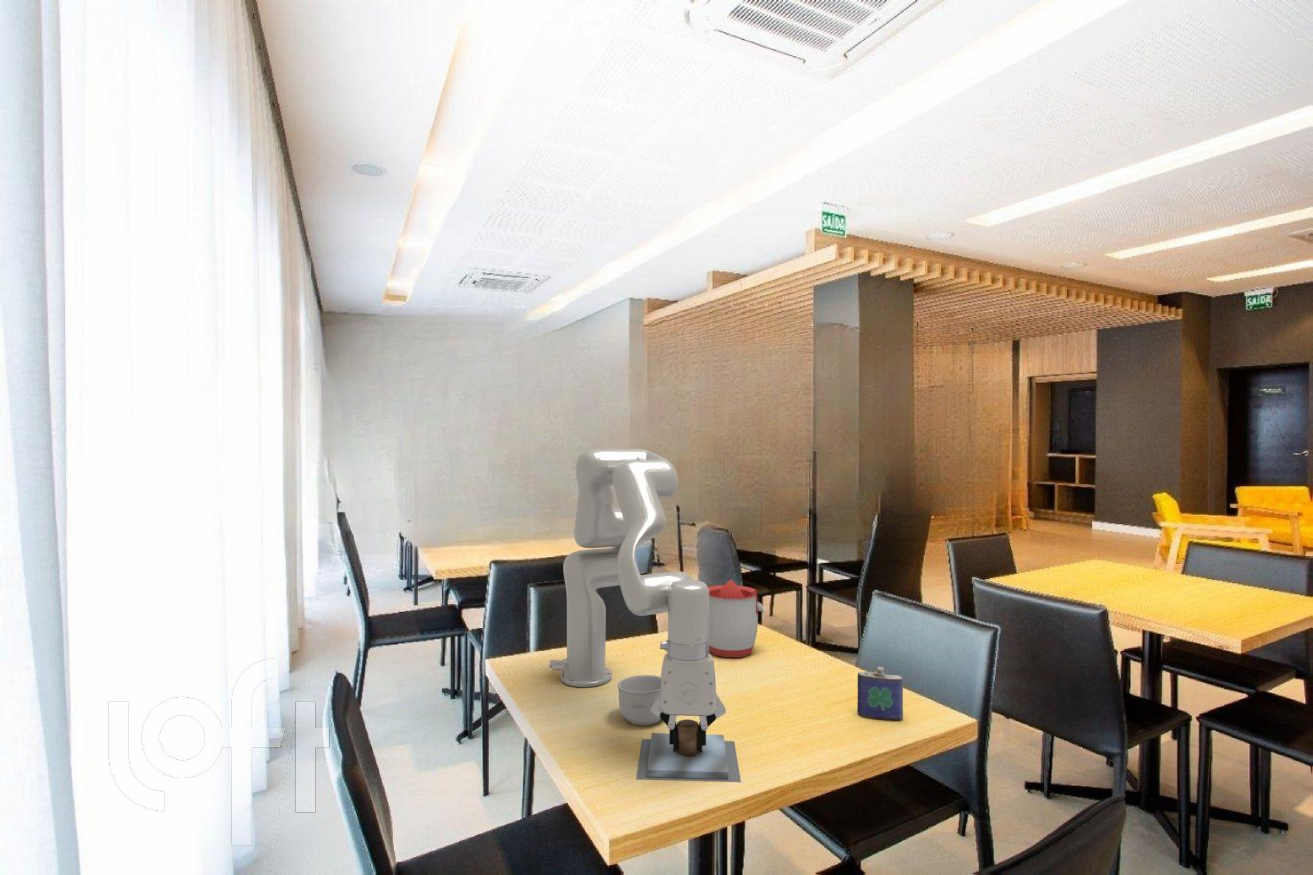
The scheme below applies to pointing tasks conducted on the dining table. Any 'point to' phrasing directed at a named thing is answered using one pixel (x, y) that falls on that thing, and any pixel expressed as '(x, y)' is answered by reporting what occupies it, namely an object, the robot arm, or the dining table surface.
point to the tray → (732, 777)
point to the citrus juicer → (733, 619)
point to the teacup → (639, 698)
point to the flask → (880, 695)
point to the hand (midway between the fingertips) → (687, 747)
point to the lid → (687, 754)
